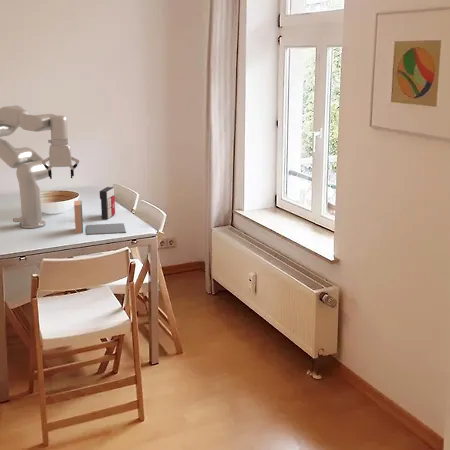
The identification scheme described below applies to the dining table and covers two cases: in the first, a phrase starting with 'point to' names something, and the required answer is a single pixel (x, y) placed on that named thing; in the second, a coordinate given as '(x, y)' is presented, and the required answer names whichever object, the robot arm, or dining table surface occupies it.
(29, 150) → the robot arm
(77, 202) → the sponge
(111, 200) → the grey red upright box
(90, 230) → the mat
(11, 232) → the dining table surface
